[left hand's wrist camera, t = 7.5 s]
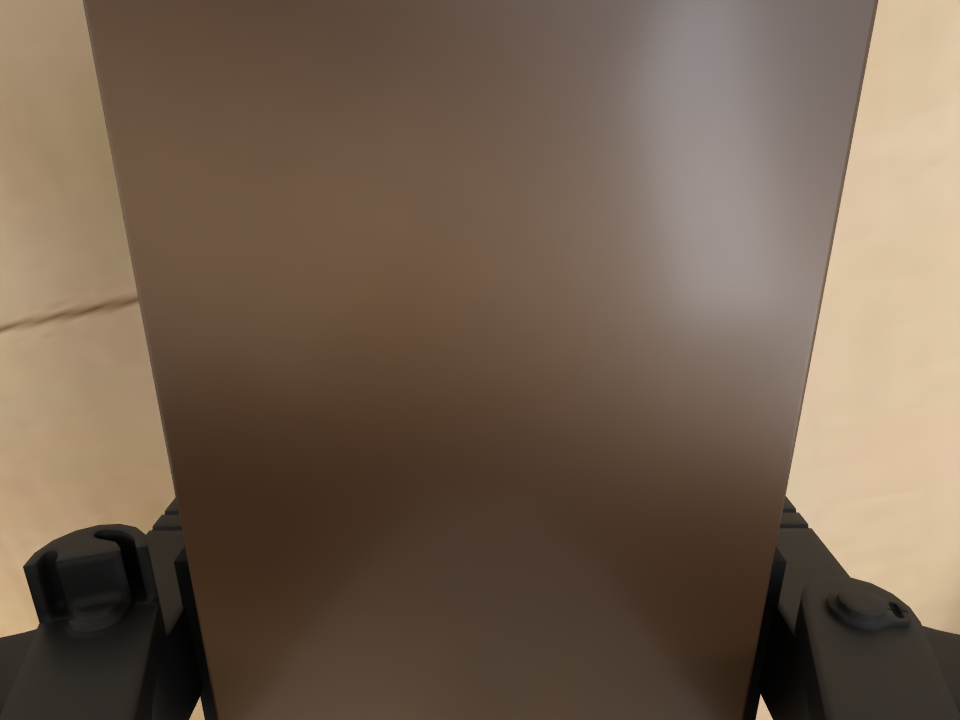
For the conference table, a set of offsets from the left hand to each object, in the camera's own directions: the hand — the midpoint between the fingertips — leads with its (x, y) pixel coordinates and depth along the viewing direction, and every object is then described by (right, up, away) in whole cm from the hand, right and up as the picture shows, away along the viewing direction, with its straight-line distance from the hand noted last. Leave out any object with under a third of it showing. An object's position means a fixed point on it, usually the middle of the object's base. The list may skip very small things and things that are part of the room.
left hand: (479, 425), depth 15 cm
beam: (0, -15, +6) cm, 16 cm away
